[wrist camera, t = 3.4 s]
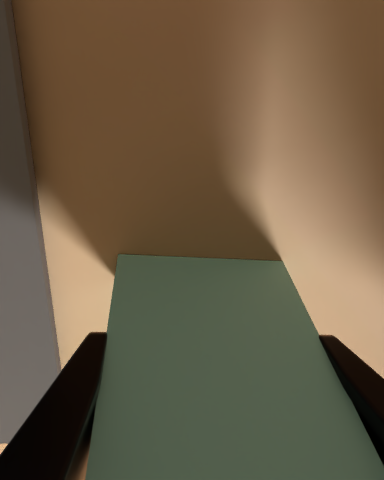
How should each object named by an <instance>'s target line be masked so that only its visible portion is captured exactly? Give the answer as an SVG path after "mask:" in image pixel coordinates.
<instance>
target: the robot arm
mask: <svg viewBox="0 0 384 480" xmlns="http://www.w3.org/2000/svg"><path fill="white" fill-rule="evenodd" d="M319 339H320V342H321V344H322V346H323V348H324V350H325V352H326V354H327V356H328V358H329V360H330V362H331V364H332V366H333V368H334V370H335V372H336V374H337V376H338V378H339V380H340V382H341V384H342V386H343V388H344V390H345V391H346V393H347V395H348V396H349V398H350V399H351V401H352V403H353V405H354V407H355V409H356V411H357V413H358V415H359V417H360V419H361V421H362V423H363V425H364V427H365V429H366V431H367V433H368V435H369V437H370V439H371V441H372V443H373V445H374V447H375V449H376V452H377V454H378V456H379V458H380V460H381V462H382V464H383V466H384V379H383V378H382V377H381V376H380V375H379V374H378V373H376V372H375V371H374V370H373V369H372V368H371V367H370V366H368V365H367V364H366V363H365V362H364V361H363V360H361V359H360V358H359V357H358V356H357V355H356V354H354V353H353V352H352V351H351V350H350V349H349V348H348V347H346V346H345V345H344V344H343V343H342V342H341V341H339V340H338V339H337V338H336V337H334V336H332V335H319ZM106 344H107V333H106V332H91V333H89V334H88V335H87V336H86V338H85V339H84V340H83V342H82V343H81V345H80V346H79V347H78V349H77V350H76V351H75V353H74V354H73V356H72V357H71V358H70V360H69V361H68V362H67V364H66V365H65V367H64V368H63V369H62V371H61V372H60V373H59V375H58V376H57V378H56V379H55V380H54V382H53V383H52V384H51V386H50V387H49V389H48V390H47V391H46V393H45V394H44V395H43V397H42V398H41V399H40V401H39V402H38V404H37V405H36V406H35V408H34V409H33V410H32V412H31V413H30V415H29V416H28V417H27V419H26V420H25V421H24V423H23V424H22V426H21V427H20V428H19V430H18V431H17V432H16V434H15V435H14V437H13V438H12V439H11V441H10V442H9V443H8V445H7V446H6V448H5V449H4V450H3V452H2V453H1V454H0V480H85V477H86V470H87V463H88V456H89V450H90V443H91V436H92V429H93V422H94V415H95V409H96V402H97V398H98V394H99V390H100V385H101V379H102V372H103V365H104V358H105V351H106Z"/></svg>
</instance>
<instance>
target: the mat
mask: <svg viewBox="0 0 384 480" xmlns="http://www.w3.org/2000/svg"><path fill="white" fill-rule="evenodd" d="M60 372H61V365H60V358H59V350H58V343H57V335H56V328H55V321H54V313H53V306H52V298H51V291H50V284H49V276H48V269H47V261H46V254H45V247H44V239H43V232H42V224H41V217H40V210H39V202H38V195H37V187H36V180H35V173H34V165H33V158H32V150H31V143H30V136H29V128H28V121H27V114H26V106H25V99H24V91H23V84H22V77H21V69H20V62H19V54H18V47H17V40H16V32H15V25H14V17H13V10H12V3H11V0H0V443H9V442H10V441H11V439H12V438H13V437H14V435H15V434H16V432H17V431H18V430H19V428H20V427H21V426H22V424H23V423H24V421H25V420H26V419H27V417H28V416H29V415H30V413H31V412H32V410H33V409H34V408H35V406H36V405H37V404H38V402H39V401H40V399H41V398H42V397H43V395H44V394H45V393H46V391H47V390H48V389H49V387H50V386H51V384H52V383H53V382H54V380H55V379H56V378H57V376H58V375H59V373H60Z"/></svg>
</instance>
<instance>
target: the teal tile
mask: <svg viewBox="0 0 384 480" xmlns="http://www.w3.org/2000/svg"><path fill="white" fill-rule="evenodd" d="M85 480H384V466H383V464H382V462H381V460H380V458H379V456H378V454H377V452H376V449H375V447H374V445H373V443H372V441H371V439H370V437H369V435H368V433H367V431H366V429H365V427H364V425H363V423H362V421H361V419H360V417H359V415H358V413H357V411H356V409H355V407H354V405H353V403H352V401H351V399H350V398H349V396H348V395H347V393H346V391H345V390H344V388H343V386H342V384H341V382H340V380H339V378H338V376H337V374H336V372H335V370H334V368H333V366H332V364H331V362H330V360H329V358H328V356H327V354H326V352H325V350H324V348H323V346H322V344H321V342H320V339H319V334H318V332H317V330H316V328H315V326H314V324H313V322H312V320H311V318H310V316H309V314H308V312H307V310H306V308H305V306H304V304H303V302H302V300H301V298H300V296H299V294H298V291H297V289H296V287H295V285H294V283H293V281H292V279H291V277H290V275H289V273H288V271H287V269H286V267H285V265H284V263H283V261H269V260H246V259H222V258H199V257H175V256H152V255H128V254H118V258H117V265H116V272H115V279H114V286H113V292H112V299H111V306H110V313H109V320H108V327H107V344H106V351H105V358H104V365H103V372H102V379H101V385H100V390H99V394H98V398H97V402H96V409H95V415H94V422H93V429H92V436H91V443H90V450H89V456H88V463H87V470H86V477H85Z"/></svg>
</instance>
